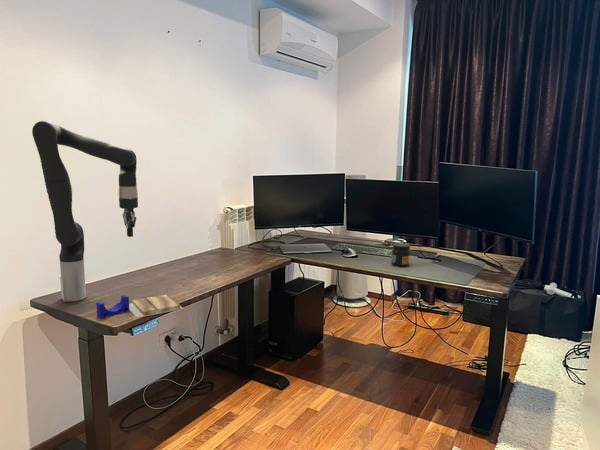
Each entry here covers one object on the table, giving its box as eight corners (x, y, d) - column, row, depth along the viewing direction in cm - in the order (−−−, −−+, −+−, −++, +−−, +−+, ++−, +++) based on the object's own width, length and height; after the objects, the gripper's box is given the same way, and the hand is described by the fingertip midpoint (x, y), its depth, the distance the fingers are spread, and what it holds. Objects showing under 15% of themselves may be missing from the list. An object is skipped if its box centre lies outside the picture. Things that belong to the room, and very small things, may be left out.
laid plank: (143, 315, 183) (143, 311, 183) (132, 303, 196) (132, 300, 196) (156, 313, 186) (156, 309, 186) (144, 301, 199) (144, 297, 199)
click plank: (158, 312, 186) (158, 308, 186) (146, 301, 199) (146, 297, 199) (180, 308, 192) (180, 304, 191) (167, 297, 204) (166, 294, 204)
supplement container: (413, 266, 265) (414, 246, 263) (398, 268, 261) (399, 247, 259) (402, 262, 275) (403, 242, 273) (387, 263, 271) (388, 243, 269)
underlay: (136, 318, 181) (136, 317, 181) (124, 305, 195) (124, 304, 195) (183, 309, 192) (183, 308, 192) (169, 297, 206) (169, 296, 206)
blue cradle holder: (123, 308, 192) (122, 294, 191) (129, 310, 189) (128, 296, 188) (95, 316, 183) (94, 301, 182) (101, 319, 180) (100, 304, 179)
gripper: (115, 195, 202) (117, 234, 205) (123, 198, 191) (125, 240, 194) (132, 194, 206) (134, 233, 209) (141, 197, 195) (143, 238, 198)
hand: (130, 236), depth 202 cm, fingers closed
